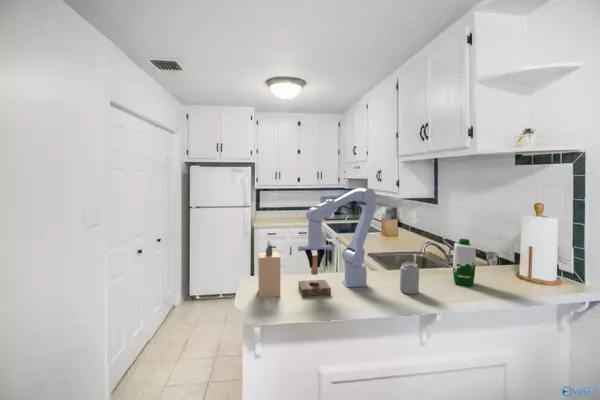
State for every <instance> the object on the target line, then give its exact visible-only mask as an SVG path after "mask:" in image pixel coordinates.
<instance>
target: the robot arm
mask: <svg viewBox="0 0 600 400" xmlns="http://www.w3.org/2000/svg"><path fill="white" fill-rule="evenodd" d="M377 198H378V196H377V194H376V192H375V191H374V189H372V188H363V187H357V188H355V189H352V190H351V191H349V192H347V193H345V194H344V195H342V196H340V197H338V198H336V199H335V200H333V199H326V200H325V202H323V203H320V204H316V205H315V207H314V206H312V207H310V208H309V209H308V210H307V212H306V213H305V216H306V218H307V219H308V226H307V227H308V232H307V233H308V234H307V236H308V239H307V240H308V241H307V242H308V243H307V244H303V245H297V251H298V252H302V251H304V252H305V254H306V257H307V259H308V265H309V268H310V269H311V268H312V255H313V252H312V251H317V254H316V255H318V268H320V267H321V263H322V259H323V258H324V255H325V254H326V251H333V246H332V244H323V243H322V242H323V241H322V240H323V239H322V237H323V235H322V233H323V229H322V228H323V225H322V224H323V220H324V219H325V218H326V217H328V216H330V215H332V214H333V213H336V212H337V211H338V208H339V207H341V206H344V205H346V204H349V203H351V202H352V201H355V203H357V204H358V205H359V206H360V208H361V214H360V215H359V216H360V217H359V220H358V223H357V224H356V227H355V231H354V234H353V236H352V239H351V242H349V243H348V244H346V245H347V246H346V247H345V249H343V251H342V254H341V255H342V256H341V257H342V259H343V261H344V279H342V280H341V282H342V284H343V285H344V286H345V287H346V288H357V287H358V288H361V287H367V286H368V285H367V277H368V276H367V273H368V272H367V267H366V265H365V264H364V262H365V253H366V250H365V247H364V244H365V241H366V239H367V235H368V233H369V230H370V227H371V224H372V221H373V218H374V215H375V213H376V208H377V207H376V205H377V204H376V202H377V201H376V200H377Z"/></svg>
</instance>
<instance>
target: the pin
mask: <svg viewBox="0 0 600 400" xmlns="http://www.w3.org/2000/svg"><path fill="white" fill-rule="evenodd" d="M318 268H319V267H318V255H317V254H312V268H310V269H311V271H310V274H311V275H313V276H316V275H318V274H319V272H318V271H319V270H318Z"/></svg>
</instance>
